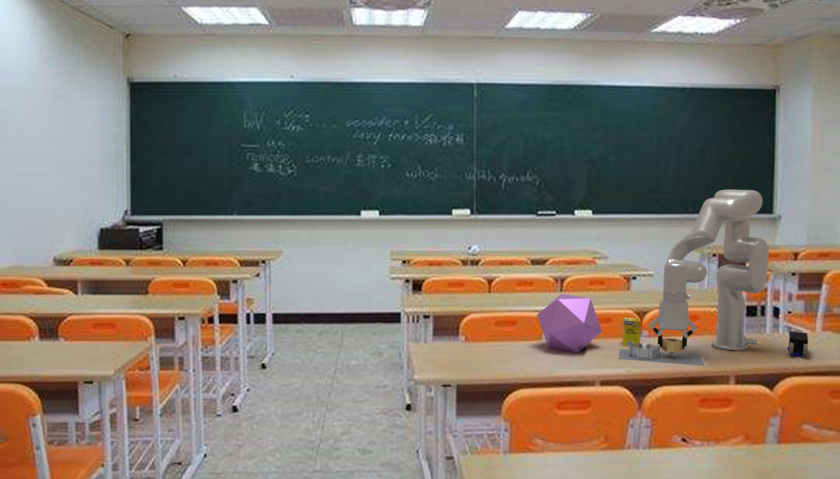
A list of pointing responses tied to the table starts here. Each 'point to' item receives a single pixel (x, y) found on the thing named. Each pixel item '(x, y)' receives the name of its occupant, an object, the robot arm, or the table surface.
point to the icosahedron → (569, 323)
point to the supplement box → (631, 331)
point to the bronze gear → (672, 345)
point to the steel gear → (644, 351)
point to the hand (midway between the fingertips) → (671, 347)
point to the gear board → (666, 357)
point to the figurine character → (798, 343)
